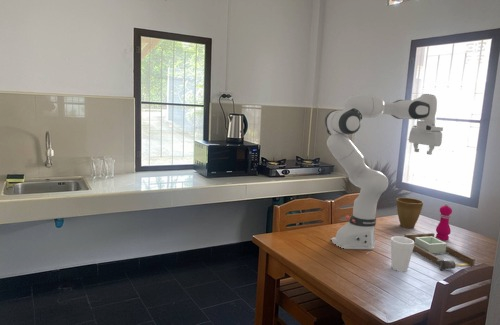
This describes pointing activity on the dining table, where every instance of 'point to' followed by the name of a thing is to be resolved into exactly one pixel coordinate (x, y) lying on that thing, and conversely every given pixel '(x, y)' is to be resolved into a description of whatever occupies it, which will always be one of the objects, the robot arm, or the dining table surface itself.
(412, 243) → the foam cup
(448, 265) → the bay
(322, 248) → the dining table surface
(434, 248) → the crate
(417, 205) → the plant pot
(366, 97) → the robot arm
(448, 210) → the pepper mill
